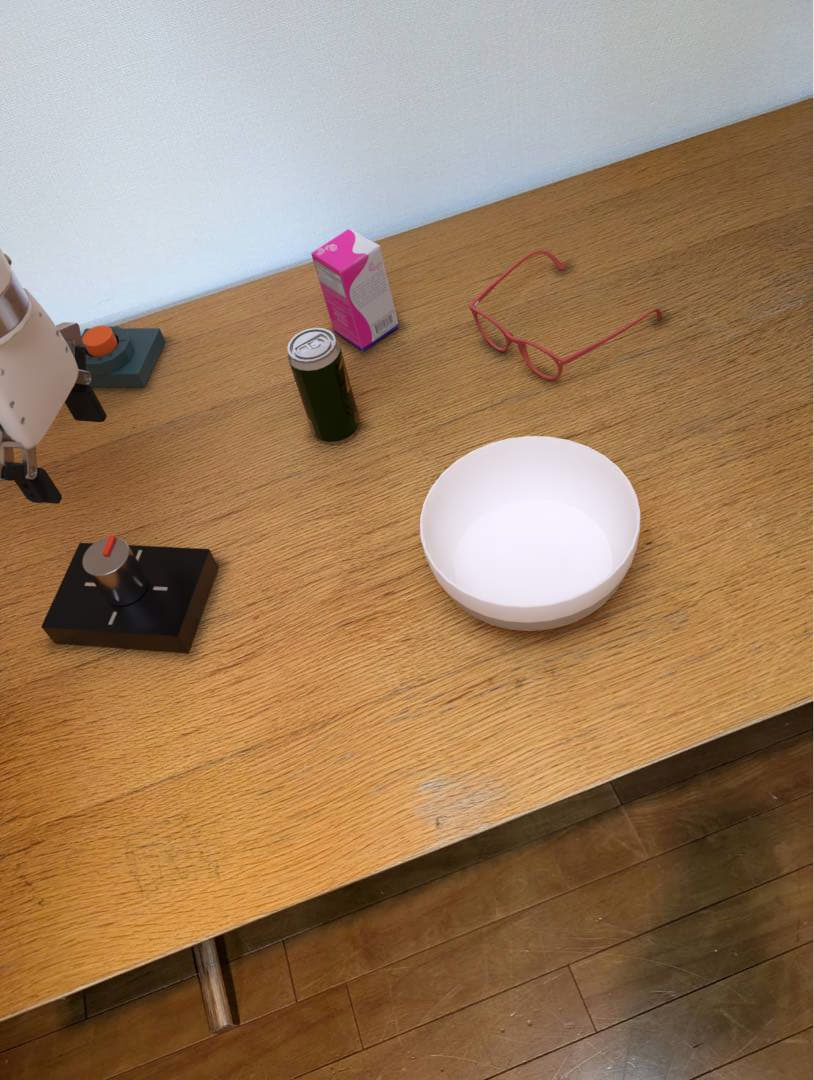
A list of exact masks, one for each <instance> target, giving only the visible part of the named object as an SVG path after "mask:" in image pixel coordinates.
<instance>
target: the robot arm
mask: <svg viewBox="0 0 814 1080" xmlns="http://www.w3.org/2000/svg"><path fill="white" fill-rule="evenodd" d="M12 264H13V261H12V259H11V257H10V256H9V255H8V254H6V253H4V252H3V251H2V248H0V481H7V482H8V481H9V482H12V481H13V482H14V483H15V484H16V485H17V487H18V488H19V490H20V492H21V493H22V494H23V495H24V497H25V499H27V500H28V501H29V502H31V503H34V504H43V503H44V504H56V505H59V504H60V503H61V501H62V500H63V496H62V493H61V492H60V490H59V489H58V487H57V486H56V484H55V482H54V481H53V480H52V478H51V476H50V475H49V473H48V472H47V470H46V469H45V468H43V467H38V459H37V445H38V444H40V442H41V441H42V440H43V438H45V436H46V434H47V433H48V431H49V429H50V428H51V426H52V424H53V423H54V422H55V419H56V418H57V416H58V414H59V413H60V411H61V409H62V408H63V406H64V404H65V406H66V408H67V409H68V411H69V412H70V414H71V416H72V418H73V419H74V421H77V422H89V423H102V422H103V423H104V422H105V421H106V419H107V417H108V415H107V412H106V411H105V409H104V407H103V405H102V404H101V402H100V400H99V398H98V397H97V395H96V393H95V391H94V389H93V387H91V386H89V384H90V383H91V374H90V372H88V371H86V351H85V348H84V347H81V344H82V339H81V336H82V334H81V328H80V325H79V323H78V322H71V321H70V322H68V321H65V322H64V321H63V322H61V323H58V324H55V323H54V321H53V320H52V318H51V316H49V314H48V312H47V311H46V310H45V309H44V308H43V306H42V305H41V304H40V303H39V301H38V300H37V298H35V297H34V295H32V293H30V291H29V290H28V289H26V288H25V287H23V285H22V284H21V282H20V281H19V278H18V277H17V275H16V273H15V271H14V269H13V268H12ZM14 449H21V462H15V456H14V455H15V454H14Z"/></svg>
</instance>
